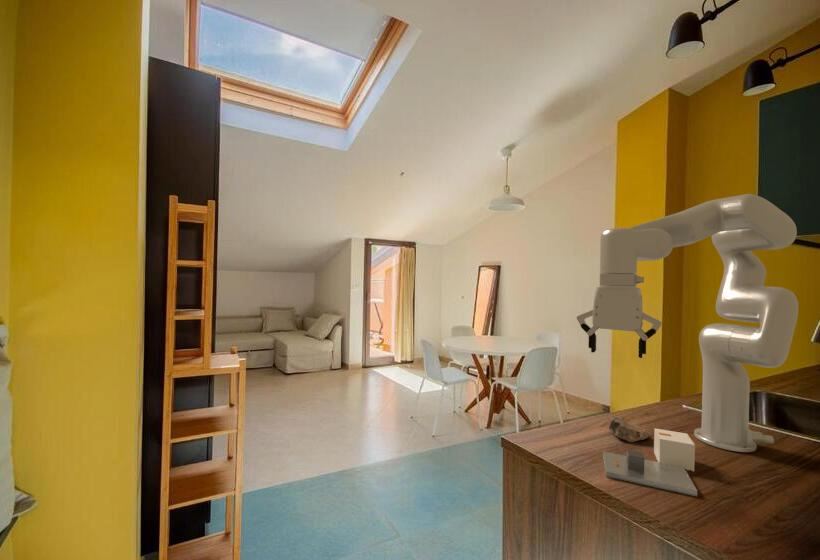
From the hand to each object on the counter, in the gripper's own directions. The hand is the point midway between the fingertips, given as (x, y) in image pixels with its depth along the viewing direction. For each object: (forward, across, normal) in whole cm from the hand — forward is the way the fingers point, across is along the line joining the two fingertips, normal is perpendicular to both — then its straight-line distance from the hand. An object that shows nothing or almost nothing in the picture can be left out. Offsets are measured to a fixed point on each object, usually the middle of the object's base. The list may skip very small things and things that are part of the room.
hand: (616, 354), depth 85 cm
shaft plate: (+26, -6, +2) cm, 26 cm away
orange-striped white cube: (+26, -12, -8) cm, 29 cm away
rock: (+26, -2, -18) cm, 32 cm away
